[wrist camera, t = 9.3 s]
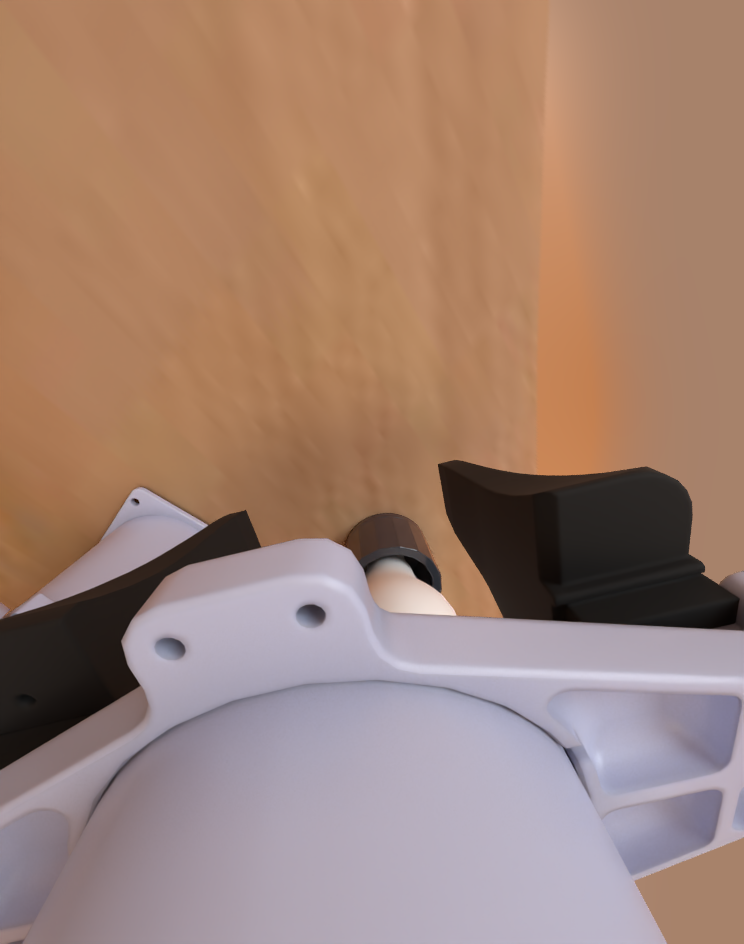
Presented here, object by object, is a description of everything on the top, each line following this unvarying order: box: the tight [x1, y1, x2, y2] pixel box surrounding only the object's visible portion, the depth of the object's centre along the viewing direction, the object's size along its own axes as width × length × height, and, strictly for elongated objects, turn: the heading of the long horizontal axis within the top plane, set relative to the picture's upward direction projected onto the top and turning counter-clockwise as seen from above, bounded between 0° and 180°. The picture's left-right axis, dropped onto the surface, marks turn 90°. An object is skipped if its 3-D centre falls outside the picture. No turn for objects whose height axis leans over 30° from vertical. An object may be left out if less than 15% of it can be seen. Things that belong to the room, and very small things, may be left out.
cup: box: [345, 513, 442, 593], centre depth 23 cm, size 6×6×4 cm
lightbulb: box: [365, 554, 457, 616], centre depth 20 cm, size 6×6×11 cm
